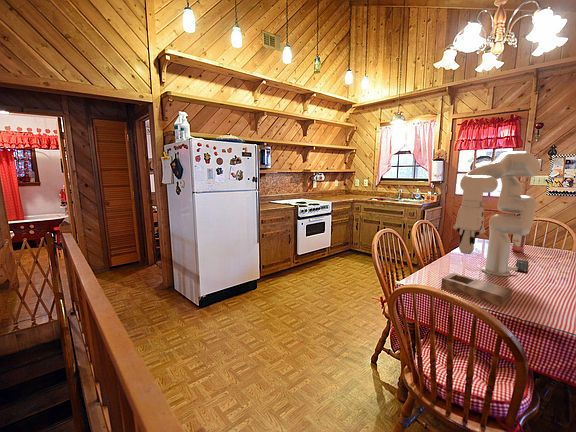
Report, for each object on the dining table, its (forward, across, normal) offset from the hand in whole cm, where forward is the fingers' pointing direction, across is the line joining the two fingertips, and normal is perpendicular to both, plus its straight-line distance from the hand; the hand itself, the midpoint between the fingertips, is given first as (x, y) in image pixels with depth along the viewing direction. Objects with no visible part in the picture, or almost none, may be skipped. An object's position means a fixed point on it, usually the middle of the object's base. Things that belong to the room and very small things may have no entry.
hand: (466, 243), depth 132 cm
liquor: (+21, +4, -94) cm, 97 cm away
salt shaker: (+4, 0, 0) cm, 4 cm away
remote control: (+22, -7, -60) cm, 65 cm away
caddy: (+22, -6, 0) cm, 22 cm away
